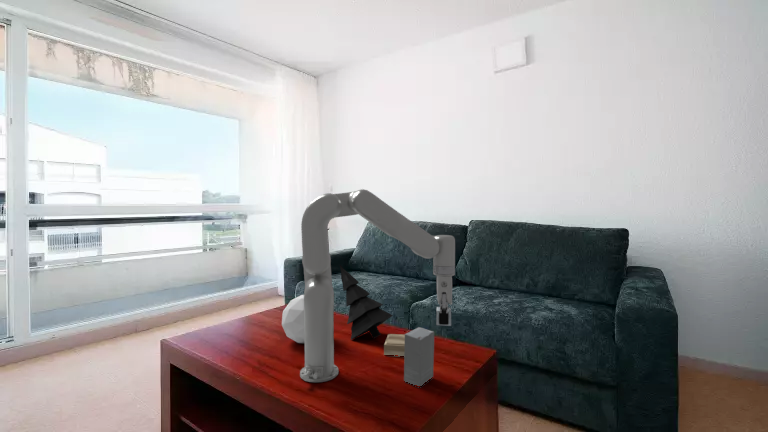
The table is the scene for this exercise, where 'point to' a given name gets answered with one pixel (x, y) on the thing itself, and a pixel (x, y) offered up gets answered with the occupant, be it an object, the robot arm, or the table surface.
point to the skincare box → (418, 356)
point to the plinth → (394, 345)
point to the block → (438, 317)
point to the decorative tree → (362, 308)
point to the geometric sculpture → (294, 320)
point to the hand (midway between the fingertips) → (443, 321)
